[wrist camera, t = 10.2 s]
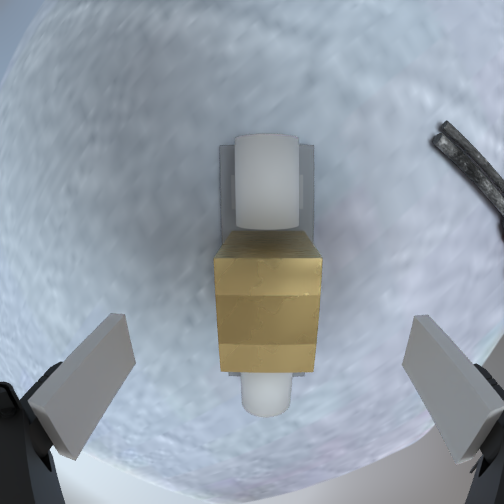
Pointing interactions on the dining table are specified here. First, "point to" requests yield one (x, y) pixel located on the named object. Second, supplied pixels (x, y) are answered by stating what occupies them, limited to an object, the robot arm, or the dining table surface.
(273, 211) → the shaft bed
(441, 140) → the valve
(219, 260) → the cardboard box
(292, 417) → the dining table surface
